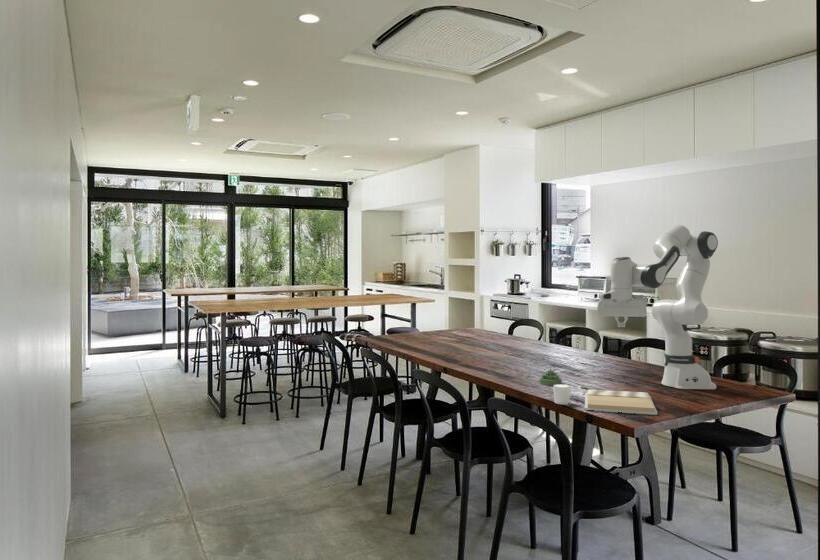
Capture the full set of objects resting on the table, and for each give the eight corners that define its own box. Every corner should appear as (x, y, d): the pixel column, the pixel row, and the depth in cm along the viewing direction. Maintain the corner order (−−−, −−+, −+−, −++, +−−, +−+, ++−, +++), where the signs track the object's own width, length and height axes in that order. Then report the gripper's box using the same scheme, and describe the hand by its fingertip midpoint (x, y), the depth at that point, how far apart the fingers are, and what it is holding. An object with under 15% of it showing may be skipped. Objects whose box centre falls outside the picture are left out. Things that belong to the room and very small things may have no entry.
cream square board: (650, 398, 240) (650, 392, 240) (657, 414, 215) (657, 408, 215) (585, 394, 248) (585, 389, 248) (584, 410, 223) (584, 403, 223)
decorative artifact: (565, 383, 271) (546, 380, 278) (565, 368, 271) (546, 366, 277) (555, 387, 264) (536, 384, 270) (555, 371, 263) (535, 369, 270)
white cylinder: (563, 405, 230) (563, 388, 230) (549, 402, 236) (549, 385, 235) (574, 403, 234) (574, 385, 234) (560, 399, 240) (560, 383, 239)
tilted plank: (647, 396, 239) (647, 392, 239) (650, 401, 230) (650, 398, 230) (587, 392, 246) (587, 389, 246) (587, 398, 237) (587, 394, 237)
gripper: (646, 294, 247) (646, 326, 248) (596, 294, 253) (596, 325, 254) (648, 295, 241) (648, 328, 242) (596, 295, 247) (597, 327, 248)
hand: (621, 326), depth 248 cm, fingers closed
